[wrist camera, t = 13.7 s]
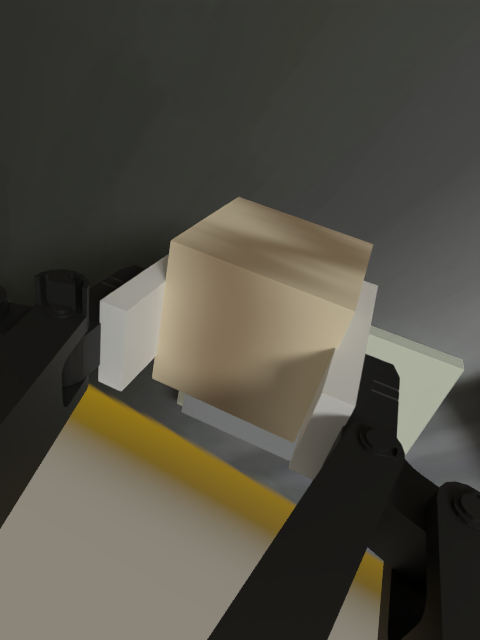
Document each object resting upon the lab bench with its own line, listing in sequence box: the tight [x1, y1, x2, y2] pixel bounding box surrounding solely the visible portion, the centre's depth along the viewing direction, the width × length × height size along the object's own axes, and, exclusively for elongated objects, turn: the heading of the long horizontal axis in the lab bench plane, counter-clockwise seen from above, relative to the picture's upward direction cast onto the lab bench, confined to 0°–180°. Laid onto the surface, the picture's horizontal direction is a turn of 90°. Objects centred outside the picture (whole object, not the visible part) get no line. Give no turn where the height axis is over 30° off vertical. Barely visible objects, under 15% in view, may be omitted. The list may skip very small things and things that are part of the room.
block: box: [152, 197, 373, 443], centre depth 14 cm, size 5×5×5 cm
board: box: [177, 326, 464, 455], centre depth 32 cm, size 19×14×1 cm
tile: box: [182, 394, 303, 461], centre depth 32 cm, size 2×9×11 cm
